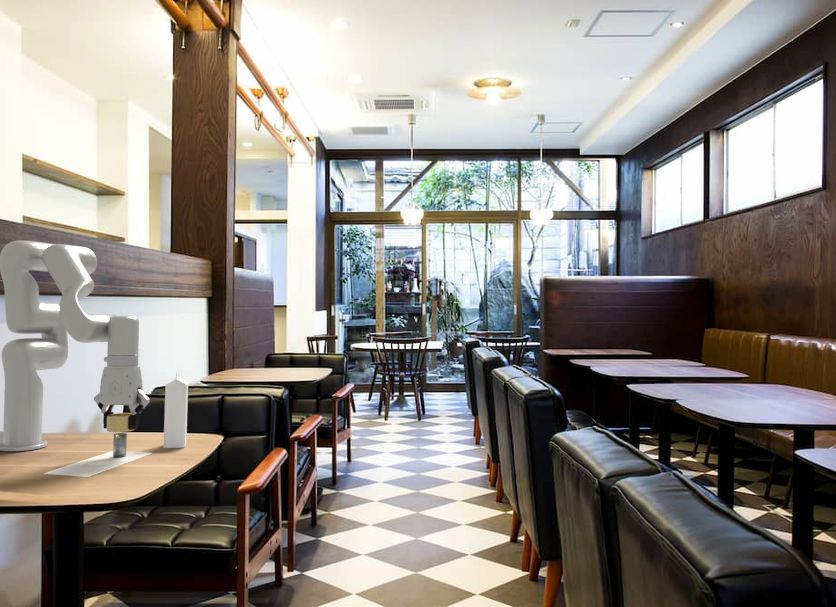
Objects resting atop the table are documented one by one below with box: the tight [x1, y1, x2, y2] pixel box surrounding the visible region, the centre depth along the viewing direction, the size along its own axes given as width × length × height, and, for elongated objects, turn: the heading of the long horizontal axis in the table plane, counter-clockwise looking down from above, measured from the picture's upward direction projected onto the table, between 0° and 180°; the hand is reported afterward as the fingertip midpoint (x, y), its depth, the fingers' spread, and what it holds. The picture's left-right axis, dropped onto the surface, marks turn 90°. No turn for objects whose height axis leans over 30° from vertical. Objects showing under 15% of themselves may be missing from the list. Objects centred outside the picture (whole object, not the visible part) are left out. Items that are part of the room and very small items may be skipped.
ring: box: [106, 412, 136, 433], centre depth 167 cm, size 7×7×4 cm
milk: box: [163, 372, 189, 449], centre depth 188 cm, size 6×6×22 cm
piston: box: [112, 432, 128, 458], centre depth 167 cm, size 3×3×6 cm
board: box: [42, 450, 153, 478], centre depth 160 cm, size 12×26×2 cm, turn 170°
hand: (121, 427), depth 167 cm, fingers closed on ring, 6 cm apart
